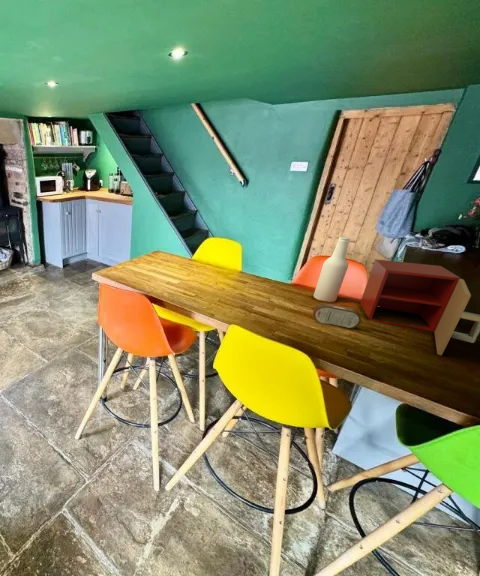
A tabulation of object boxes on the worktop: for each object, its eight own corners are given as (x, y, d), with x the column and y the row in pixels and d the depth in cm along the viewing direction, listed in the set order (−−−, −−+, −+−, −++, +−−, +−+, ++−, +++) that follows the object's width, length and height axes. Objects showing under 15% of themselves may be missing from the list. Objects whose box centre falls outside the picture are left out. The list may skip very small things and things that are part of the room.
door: (459, 338, 109) (487, 283, 101) (466, 362, 96) (499, 300, 88) (434, 332, 114) (459, 278, 106) (437, 354, 100) (466, 294, 92)
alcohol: (310, 299, 143) (330, 237, 132) (315, 294, 148) (335, 234, 137) (332, 305, 137) (355, 240, 125) (337, 300, 142) (359, 237, 131)
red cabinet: (435, 332, 114) (460, 278, 106) (367, 320, 123) (386, 269, 115) (419, 315, 127) (440, 265, 119) (359, 306, 136) (375, 259, 128)
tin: (355, 329, 117) (363, 309, 114) (357, 332, 115) (365, 312, 111) (310, 319, 124) (316, 300, 121) (310, 322, 122) (316, 303, 118)
